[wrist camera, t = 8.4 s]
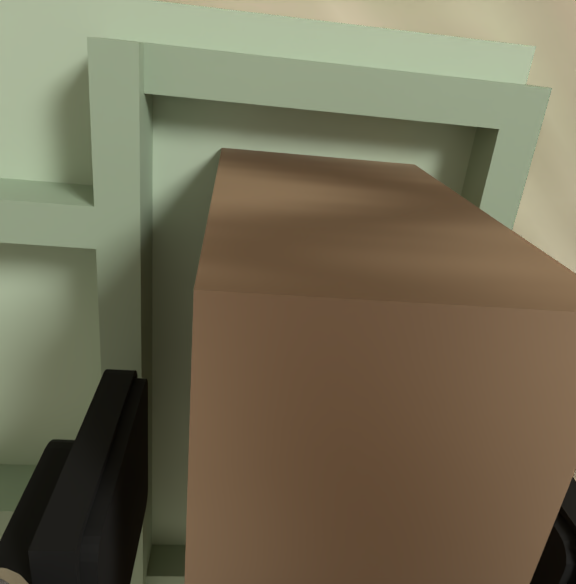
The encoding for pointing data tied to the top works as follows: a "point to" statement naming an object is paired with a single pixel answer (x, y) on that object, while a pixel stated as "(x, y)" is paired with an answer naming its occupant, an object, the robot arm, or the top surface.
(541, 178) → the top surface
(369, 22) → the top surface
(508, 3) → the top surface
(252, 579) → the brown cuboid brick
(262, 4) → the top surface
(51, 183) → the jig
